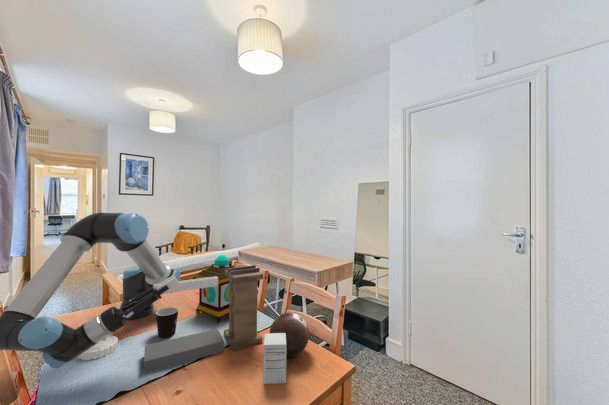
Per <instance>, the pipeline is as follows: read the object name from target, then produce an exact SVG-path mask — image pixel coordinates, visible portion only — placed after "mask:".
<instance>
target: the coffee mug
mask: <svg viewBox="0 0 609 405" xmlns="http://www.w3.org/2000/svg"><path fill="white" fill-rule="evenodd" d="M178 316H179V308H178V307H174V306H171V307H170V306H168V307H164V308H163V307H162V308H160V309H158V310H157V311H156V312H155V318H156V320H155V321H156V327H157V336H158V338H159V339H164V338H165V339H169V338H172V337H173V336H175V335H174V334H176V330H177V323H178Z"/></svg>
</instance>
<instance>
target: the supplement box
mask: <svg viewBox="0 0 609 405" xmlns="http://www.w3.org/2000/svg"><path fill="white" fill-rule="evenodd" d="M262 367H263V380H262V382H263V384H264V385H271V384H272V385H273V384H286V383H287V357H286V333H270V332H269V333H264V338H263V366H262Z"/></svg>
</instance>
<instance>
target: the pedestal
mask: <svg viewBox="0 0 609 405" xmlns="http://www.w3.org/2000/svg"><path fill="white" fill-rule="evenodd" d="M234 267H235V268H227V269H226V270H225V275H226V276H227V277H228V278H229V279H230V295H229V314H228V316H229V318H228V328H226V329H223V336H224V338H225V340H226V341H227V344H228V345H229V347H230V349H231V351H232V352H234V351H239V350H242V349H245V348H250V347H252V346H256V345H260V344H262V343H263V337H262V335H261V334H260V333H259V332H258V282H259V281H261V280H263V279H264V273H262V272H261V270H260V269H261V268H260V267H257V266H256V264H253V265H246V266H245V265H244V266H237V267H236V266H234ZM258 280H259V281H258Z"/></svg>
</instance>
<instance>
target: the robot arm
mask: <svg viewBox="0 0 609 405" xmlns="http://www.w3.org/2000/svg"><path fill="white" fill-rule="evenodd" d="M148 226H149V223H148V222H147V219H146V218H145V217H144V216H143V215H141V214H140V213H139V214H138V213H134V212H133V213H132V212H96V213H91V214H89V215H87V216H85V217H83V218H81V219H80V220H78V221H77V222H75V223H74V224H72V226H70V227H69V228H68V230H66V232H64V234H63V235H62V236H61V237H60V244H59V245H58V246H57V247H56V248H55V250H54V251H53V252H52V253H51V254H50V255H49V256H48V258H47V259H46V261H44V262H43V264H42V265H41V266H40V268H39V269H38V270H37V271H36V272H35V273H34V275H33V276H32V277H31V278H30V279H29V281H28V282H27V283H26V284H25V285H24V287H23V288H22V289H21V290H20V292H18V294H17V295H16V296H15V297H14V299H13V300H12V301H10V304H8V305H7V307H6V308H5V309H4V311H3V312H2V313H1V314H0V351H16V352H17V351H20V352H21V351H22V352H23V351H26V352H29V351H30V352H40V353H42V359H43V360H44V362H45V364H46V365H48V366H49V367H50V368H53V369H58V368H61V367H63V366H65V365H66V364H68V363H70V362H71V361H73V360H75V359H76V358H78V356H79V355H81V354H82V353H83V352H85V351H86V350H88V349H89V348H91V347H92V346H94V345H95V344H97V343H98V342H100V341H101V340H105V339H106V337H107V336H111V335H112V333H116V332H117V331H118V330H120V329H121V328H123V327H124V326H125V325H126V321H125V320H135V319H139V318H143V317H147V316H148V315H151V314H153V312H154V308H155V306H154V303H155V302H156V301H158V300H160V299H162V295H165V294H169V293H165V292H167V291H168V290H170V289H171V288H173V287H174V286H176V285H178V284H179V283H178V281H181V277H182V276H181V271H180V269H176V268H174V269H173V268H172V267H171V265H169V264H168V263H165V262H163V261H162V259H161V258H160V256H159V255H158V254H157V252H156V251H155V249H154V248H153V247H152V245H151V244H150V242H149V241H148V240H147V238H148V235H149V230H150V229H149V227H148ZM99 243H100V244H103V243H104V244H112V245H113V246H114V247H115V248H116V249H117V250H118V251H120V252H124V253H126V254H127V255H128V257H129V258H130V259H131V260H132V261H133V263H135V265H136V266H135V267H134V266H133V267H130V268H127V269H125V270H124V271H123V275H122V279H121V280H122V299H121V300H122V301H121V303H120V306H119V308H117V307H116V306H110V307H108V308H107V309H105V310H104V311H102V312H101V314H97V315H96V316H94V317H93V318H90V319H89V320H88V321H86V322H84V323H83V324H82V325H80V326H78V327H77V328H73V327H71V326H69V325H67V324H65V323H63V322H61V321H60V320H58V319H57V318H51V317H49V316H40V317H38V315H39V314H40V313H41V312H42V310H43V309H44V307H46V306H45V305H47V304H48V302H49V300H51V298H52V297H53V295H54V294H56V292H57V290H58V288H59V287H60V286H61V285H62V284H63V282H64V280H65V279H66V278H67V276H68V275H69V274H70V272H71V271H72V270H73V268H74V267H75V266H76V264H77V263H78V262H79V260H80V259H81V257H82V256H83V255H84V253H85V252H89V251H90V250H91V249H92V248H93V246H95V245H97V244H99ZM159 283H165V284H163V285H161V286H160V287H158V288H157V290H155V291H154V292H153V284H159ZM164 293H165V294H164ZM174 293H175V292H172V293H171V294H174Z"/></svg>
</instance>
